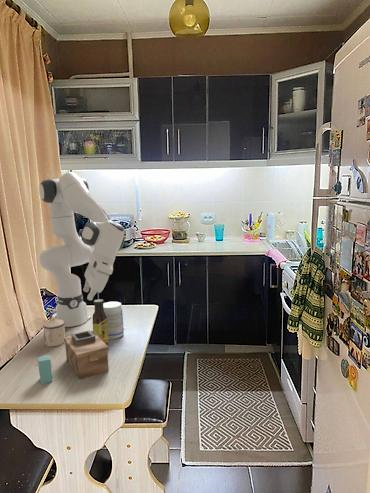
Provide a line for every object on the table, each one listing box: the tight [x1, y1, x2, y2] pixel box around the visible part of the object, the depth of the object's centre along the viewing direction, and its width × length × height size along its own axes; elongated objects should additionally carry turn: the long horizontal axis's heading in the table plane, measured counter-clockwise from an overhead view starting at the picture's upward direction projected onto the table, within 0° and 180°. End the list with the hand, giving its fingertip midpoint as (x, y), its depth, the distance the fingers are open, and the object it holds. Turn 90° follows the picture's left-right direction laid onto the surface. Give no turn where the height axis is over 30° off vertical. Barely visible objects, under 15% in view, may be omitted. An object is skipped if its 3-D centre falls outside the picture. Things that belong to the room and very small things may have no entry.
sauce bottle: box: [91, 298, 109, 346], centre depth 176 cm, size 6×6×20 cm
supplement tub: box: [103, 301, 125, 340], centre depth 187 cm, size 10×10×15 cm
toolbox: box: [63, 329, 110, 380], centre depth 159 cm, size 19×12×12 cm, turn 30°
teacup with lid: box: [42, 316, 66, 347], centre depth 180 cm, size 12×9×12 cm
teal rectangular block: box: [37, 354, 53, 385], centre depth 149 cm, size 4×4×8 cm
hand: (87, 295), depth 158 cm, fingers open, 8 cm apart
